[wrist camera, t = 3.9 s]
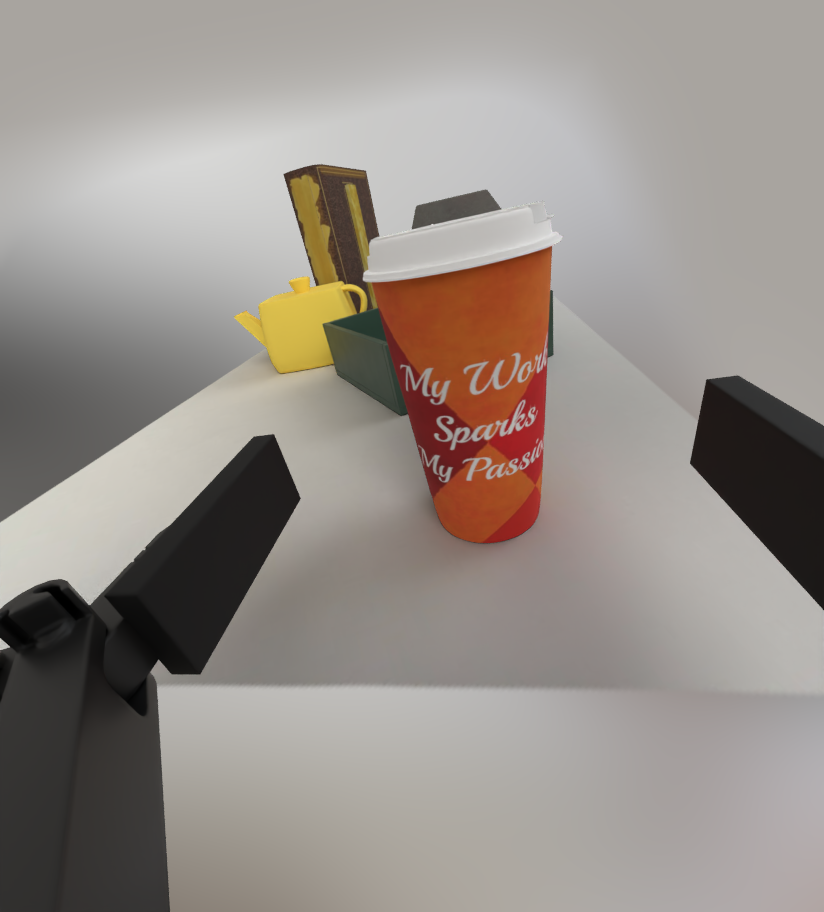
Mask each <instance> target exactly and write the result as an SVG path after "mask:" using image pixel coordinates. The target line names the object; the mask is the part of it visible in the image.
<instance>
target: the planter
mask: <svg viewBox="0 0 824 912" xmlns="http://www.w3.org/2000/svg"><path fill="white" fill-rule="evenodd" d="M496 210H501V208H500V207H499V205H498V204H497V202H496V201H495V200H494V198H493V197H492V196H491V194H490V193H489V192H488V190H482V191H477V192H473V193H469V194H465V195H460V196H456V197H452V198H447V199H443V200H439V201H435V202H431V203H426V204H422V205H418V206H417V207H416V210H415V215H414V220H413V226H412V229H416V228H421V227H425V226H429V225H431V224H438V223H443V222H447V221H452V220H456V219H461V218H465V217H470V216H474V215H479V214H484V213H488V212H492V211H496Z"/></svg>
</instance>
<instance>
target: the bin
mask: <svg viewBox="0 0 824 912" xmlns="http://www.w3.org/2000/svg"><path fill="white" fill-rule="evenodd" d="M322 325H323V328H324V332H325V335H326V338H327V342H328V345H329V348H330V352H331V355H332V358H333V362H334V365H335V368H336V372H337V375H339V376H340V377H342V378H343V379H345V380H346V381H348V382H349V383H351V384H353V385H354V386H356V387H357V388H359V389H360V390H362V391H363V392H365V393H367V394H368V395H370V396H371V397H373V398H374V399H376V400H377V401H379V402H381V403H382V404H384V405H385V406H387V407H388V408H390V409H391V410H393V411H395V412H396V413H398V414H399V415H401V416H402V415H404V414H407V413H408V411H407V408H406V405H405V401H404V398H403V395H402V391H401V388H400V385H399V381H398V378H397V375H396V371H395V368H394V365H393V362H392V358H391V355H390V351H389V347H388V344H387V340H386V336H385V332H384V328H383V325H382V321H381V317H380V313H379V309H378V308H375V309H371V310H368V311H364V312H361V313H357V314H354V315H351V316H347V317H344V318H340V319H337V320H334V321H330V322H327V323H323V324H322ZM551 355H553V291H552V290H550V305H549V329H548V353H547V357H549V356H551Z"/></svg>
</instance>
